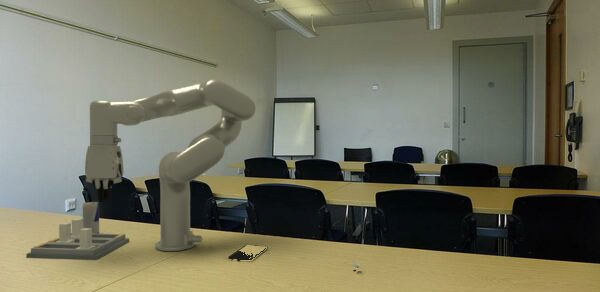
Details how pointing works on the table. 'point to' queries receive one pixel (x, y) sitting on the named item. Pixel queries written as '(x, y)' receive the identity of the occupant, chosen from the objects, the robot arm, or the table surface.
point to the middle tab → (65, 233)
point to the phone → (240, 255)
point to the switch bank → (69, 251)
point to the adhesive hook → (356, 265)
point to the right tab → (76, 227)
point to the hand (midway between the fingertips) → (104, 201)
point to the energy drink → (91, 216)
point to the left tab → (86, 239)
